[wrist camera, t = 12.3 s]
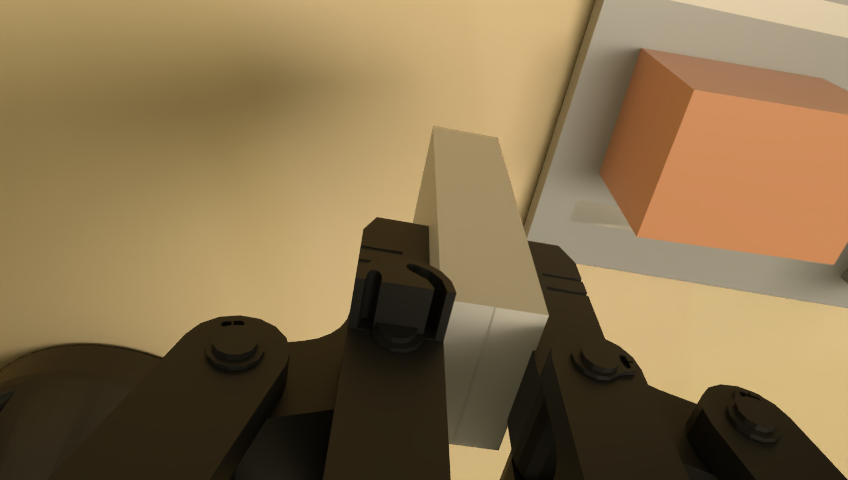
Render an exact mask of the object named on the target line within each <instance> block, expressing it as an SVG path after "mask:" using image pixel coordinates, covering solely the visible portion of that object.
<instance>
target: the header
mask: <svg viewBox="0 0 848 480" xmlns="http://www.w3.org/2000/svg"><path fill="white" fill-rule="evenodd" d="M641 48H645V49H651V50H657V51H663V52H669V53H675V54H681V55H687V56H693V57H699V58H705V59H711V60H717V61H722V62H728V63H734V64H740V65H746V66H752V67H758V68H764V69H770V70H776V71H782V72H788V73H794V74H800V75H806V76H812V77H818V78H823V79H825V80H827V81H829V82H831V83H833V84H835V85H837V86H839V87H841V88H843V89H845V90H847V91H848V0H596V1H595V4H594V7H593V10H592V13H591V16H590V20H589V23H588V26H587V29H586V32H585V35H584V38H583V42H582V45H581V48H580V51H579V54H578V57H577V60H576V64H575V67H574V70H573V73H572V76H571V79H570V83H569V86H568V89H567V92H566V95H565V98H564V101H563V105H562V108H561V111H560V114H559V117H558V120H557V124H556V127H555V130H554V133H553V136H552V139H551V142H550V146H549V149H548V152H547V155H546V158H545V161H544V164H543V168H542V171H541V174H540V177H539V180H538V183H537V187H536V190H535V193H534V196H533V199H532V202H531V205H530V209H529V212H528V215H527V218H526V221H525V224H524V231H525V234H526V238H527V241H533V242H539V243H545V244H551V245H557V246H559V247H560V248H561V249H562V250H563V251H564V252H565V253H566V254H567V255H568V256H569V257H570V258H571V259H572V260H573V261H574V262H575V263H576V264H582V265H588V266H594V267H600V268H606V269H613V270H619V271H625V272H631V273H637V274H643V275H649V276H655V277H661V278H667V279H673V280H679V281H685V282H691V283H697V284H704V285H710V286H716V287H722V288H728V289H734V290H740V291H746V292H752V293H758V294H764V295H770V296H776V297H782V298H788V299H795V300H801V301H807V302H813V303H819V304H825V305H831V306H837V307H843V308H848V242H847V244H846V246H845V247H844V249H843V251H842V252H841V254H840V256H839V257H838V259H837V261H836V262H835V264H834V265H833V264H826V263H818V262H811V261H804V260H797V259H790V258H783V257H776V256H769V255H762V254H755V253H748V252H740V251H733V250H726V249H719V248H712V247H705V246H698V245H691V244H684V243H677V242H670V241H662V240H655V239H648V238H641V237H636V235H635V233H634V231H633V230H632V228H631V226H630V225H629V223H628V221H627V220H626V218H625V216H624V215H623V213H622V211H621V210H620V208H619V206H618V205H617V203H616V201H615V199H614V198H613V196H612V194H611V193H610V191H609V189H608V188H607V186H606V184H605V183H604V181H603V179H602V178H601V176H600V174H599V172H600V169H601V166H602V163H603V161H604V158H605V155H606V152H607V149H608V146H609V143H610V140H611V137H612V134H613V131H614V128H615V125H616V122H617V119H618V116H619V113H620V110H621V107H622V104H623V101H624V98H625V95H626V92H627V89H628V86H629V83H630V80H631V77H632V74H633V71H634V68H635V65H636V62H637V59H638V56H639V53H640V50H641Z"/></svg>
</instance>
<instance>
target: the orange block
mask: <svg viewBox="0 0 848 480" xmlns="http://www.w3.org/2000/svg"><path fill="white" fill-rule="evenodd" d="M599 174H600V176H601V178H602V179H603V181H604V183H605V184H606V186H607V188H608V189H609V191H610V193H611V194H612V196H613V198H614V199H615V201H616V203H617V205H618V206H619V208H620V210H621V211H622V213H623V215H624V216H625V218H626V220H627V221H628V223H629V225H630V226H631V228H632V230H633V231H634V233H635V235H636V237H641V238H648V239H655V240H662V241H670V242H677V243H684V244H691V245H698V246H705V247H712V248H719V249H726V250H733V251H740V252H748V253H755V254H762V255H769V256H776V257H783V258H790V259H797V260H804V261H811V262H818V263H826V264H833V265H834V264H835V262H836V261H837V259H838V257H839V256H840V254H841V252H842V251H843V249H844V247H845V246H846V244H847V242H848V91H847V90H845V89H843V88H841V87H839V86H837V85H835V84H833V83H831V82H829V81H827V80H825V79H823V78H818V77H812V76H806V75H800V74H794V73H788V72H782V71H776V70H770V69H764V68H758V67H752V66H746V65H740V64H734V63H728V62H722V61H717V60H711V59H705V58H699V57H693V56H687V55H681V54H675V53H669V52H663V51H657V50H651V49H645V48H641V50H640V53H639V56H638V59H637V62H636V65H635V68H634V71H633V74H632V77H631V80H630V83H629V86H628V89H627V92H626V95H625V98H624V101H623V104H622V107H621V110H620V113H619V116H618V119H617V122H616V125H615V128H614V131H613V134H612V137H611V140H610V143H609V146H608V149H607V152H606V155H605V158H604V161H603V163H602V166H601V169H600V172H599Z"/></svg>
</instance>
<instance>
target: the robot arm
mask: <svg viewBox="0 0 848 480" xmlns="http://www.w3.org/2000/svg"><path fill="white" fill-rule="evenodd" d="M586 294H587V292H586V289H585V287H584V284H583V282H581V277H580V274H579V272H578V269H577V266H576V264H575V262H574V261H573V260H572V259H571V258H570V257H569V256H568V255H567V254H566V253H565V252H564V251H563V250H562V249H561V248H560V247H559V246H557V245H551V244H545V243H539V242H533V241H527V238H526V234H525V231H524V227H523V224H522V221H521V217H520V214H519V210H518V207H517V203H516V200H515V196H514V193H513V189H512V186H511V182H510V179H509V175H508V172H507V168H506V165H505V162H504V158H503V155H502V151H501V148H500V144H499V141H498V138H496V137H490V136H485V135H479V134H474V133H469V132H463V131H458V130H452V129H447V128H441V127H436V126H433V130H432V134H431V139H430V144H429V149H428V153H427V158H426V163H425V168H424V172H423V177H422V182H421V187H420V191H419V196H418V201H417V206H416V210H415V215H414V220H413V223H408V222H402V221H396V220H390V219H384V218H378V217H377V218H375V219H374V220H373V221H372V222H371V223H370V224H369V225H368V226H367V227H365V228H364V230H363V236H362V242H361V248H360V254H359V260H358V266H357V272H356V278H355V284H354V290H353V296H352V302H351V309H350V313H349V316H348V318H347V320H346V321H345V323H344V324H343V325H342V326H341V327H340V328H339V329H337V330H336V331H334V332H332V333H331V334H329V335H326V336H323V337H320V338H317V339H312V340H306V341H297V342H287V338H286V337H285V336H284V335H283V334H282V333H281V332H280V331H279V330H278V329H277V327H275V326H273V325H271V324H269V323H267V322H265V321H263V320H261V319H257V318H251V317H246V316H226V317H218V318H215V319H212V320H209V321H206V322H203V323H200V324H199V325H197V326H196V327H195V328H193V329H192V330H190V331H189V332H188V333H186V334H185V335H184V336H183V337H182V338H181V339H180V340H179V341H178V342H177V343H176V345H175V346H174V347H173V348H172V349H171V350H170V351H169V352H168V353H167V354H166V355H165V356H164V357H163V358H162V359H158V358H155V357H152V356H149V355H146V354H142V353H138V352H134V351H130V350H125V349H119V348H112V347H103V346H65V347H57V348H52V349H46V350H42V351H38V352H35V353H32V354H29V355H26V356H24V357H22V358H19V359H17V360H15V361H14V362H12V363H10V364H8V365H7V366H5V367H4V368H3V369H1V370H0V480H451V479H450V460H449V444H455V445H462V446H470V447H478V448H485V449H493V450H499V448H500V445H501V443H502V440H503V437H504V435H505V432H506V429H507V427H508V430H509V436H510V443H511V449H512V450H511V452H510V455H509V457H508V460H507V462H506V465H505V468H504V470H503V473H502V475H501V478H500V480H847V479H846V477H845V476H844V475H843V474H842V473H841V472H840V471H839V470H838V469H837V468H836V467H835V466H834V465H833V463H832V462H831V461H830V460H829V459H828V458H827V457H826V456H825V455H824V454H823V453H822V452H821V451H820V450H819V448H818V447H817V446H816V445H815V444H814V443H813V442H812V441H811V440H810V439H809V438H808V437H807V436H806V435H805V433H804V432H803V431H802V430H801V429H800V428H799V427H798V426H797V425H796V424H795V423H794V422H793V421H792V419H791V418H790V417H788V416H787V415H786V414H785V413H784V412H783V411H782V410H780V409H779V408H778V407H777V406H776V405H775V404H773V403H771V402H770V401H768V400H766V399H765V398H763V397H761V396H760V395H759V394H756V393H754V392H752V391H748V390H746V389H743V388H740V387H737V386H729V385H721V384H720V385H717V386H713V387H709V388H708V389H707V390H706V391H705V393H704V394H703V395H702V397H701V398H700V400H699V402H698V403H697V404H695V403H693V402H690V401H687V400H685V399H682V398H679V397H677V396H674V395H671V394H669V393H666V392H663V391H661V390H658V389H656V388H654V387H652V386H649V385H648V384H647V381H646V379H645V377H644V375H643V372H642V370H641V369H640V367H639V366H638V364H637V363H636V361H635V360H634V358H633V357H632V356H630V355H629V354H628V353H627V352H626V351H624V350H623V349H622V348H621V347H620V346H618V345H616V344H614V343H612V342H610V341H608V340H606V339H605V337H604V335H603V332H602V330H601V327H600V325H599V322H598V320H597V317H596V315H595V312H594V310H593V307H592V304H591V302H590V299H589V297H588V296H586Z"/></svg>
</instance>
